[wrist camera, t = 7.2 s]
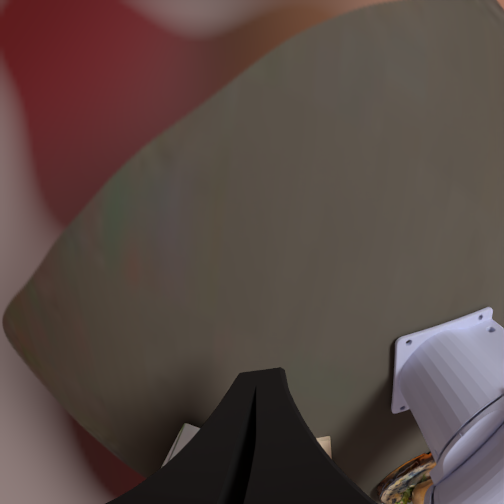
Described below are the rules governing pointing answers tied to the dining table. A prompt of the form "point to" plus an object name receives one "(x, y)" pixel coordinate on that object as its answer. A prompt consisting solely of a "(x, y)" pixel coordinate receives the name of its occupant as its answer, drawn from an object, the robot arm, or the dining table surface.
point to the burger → (408, 482)
